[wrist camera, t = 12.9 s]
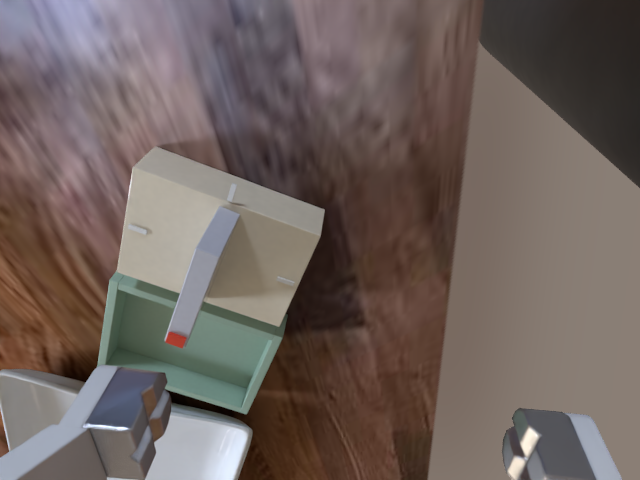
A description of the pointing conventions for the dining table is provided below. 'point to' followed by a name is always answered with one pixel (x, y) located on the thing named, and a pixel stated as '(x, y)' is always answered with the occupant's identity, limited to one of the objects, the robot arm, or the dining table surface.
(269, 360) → the basin
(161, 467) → the square plate
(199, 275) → the spout
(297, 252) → the block
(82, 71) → the dining table surface
